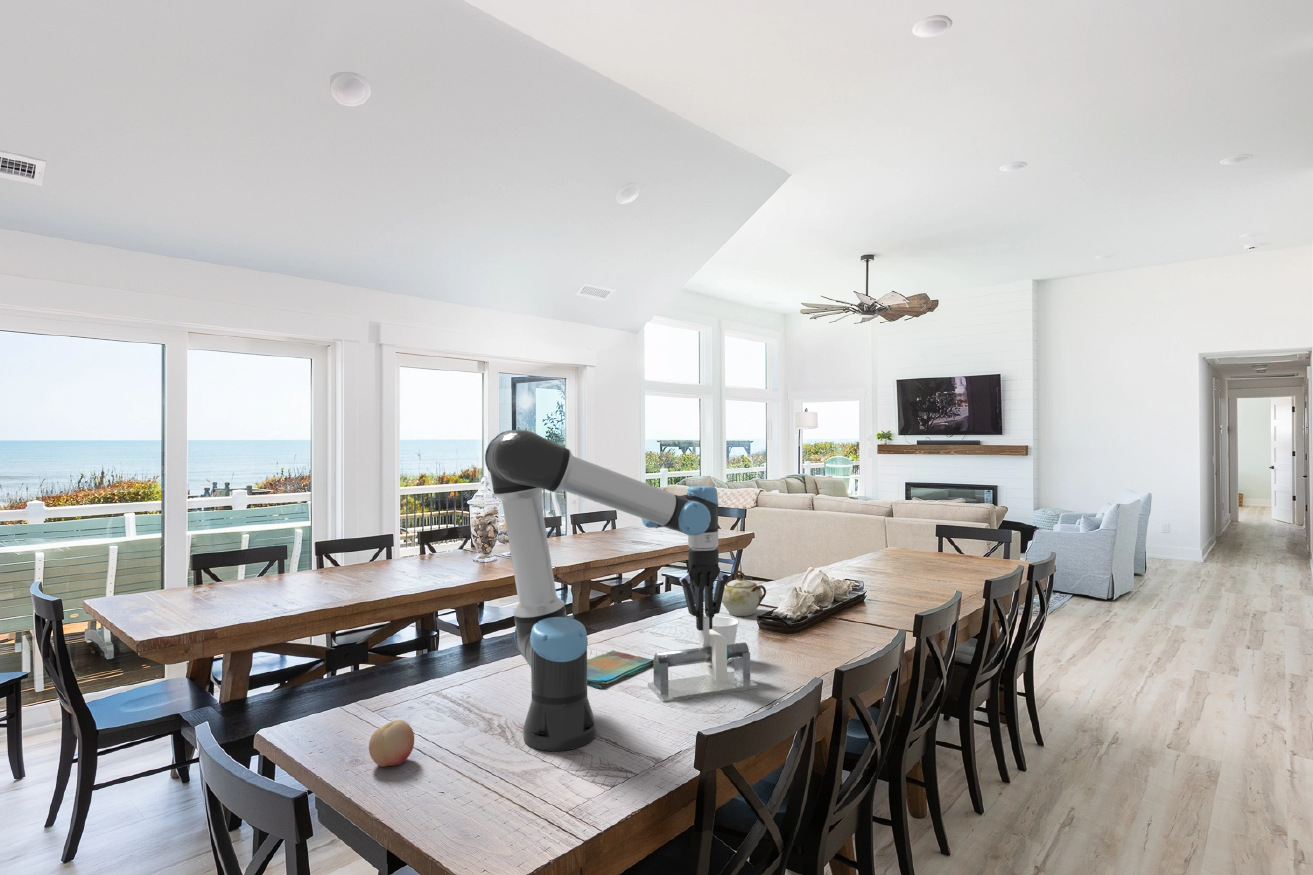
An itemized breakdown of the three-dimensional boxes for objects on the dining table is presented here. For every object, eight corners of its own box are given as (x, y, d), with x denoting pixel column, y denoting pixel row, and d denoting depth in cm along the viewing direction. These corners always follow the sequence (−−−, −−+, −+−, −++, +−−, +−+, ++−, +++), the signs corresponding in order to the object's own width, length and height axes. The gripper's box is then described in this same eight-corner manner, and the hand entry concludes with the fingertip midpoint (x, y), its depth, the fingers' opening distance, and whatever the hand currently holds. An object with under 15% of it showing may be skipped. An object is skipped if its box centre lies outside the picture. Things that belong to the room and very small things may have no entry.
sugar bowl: (705, 613, 246) (705, 571, 245) (728, 605, 257) (727, 564, 257) (755, 622, 234) (755, 577, 234) (776, 613, 246) (776, 570, 245)
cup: (737, 667, 189) (737, 626, 189) (701, 665, 191) (700, 625, 191) (740, 655, 199) (740, 617, 198) (705, 654, 201) (705, 615, 200)
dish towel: (552, 678, 184) (552, 668, 184) (610, 655, 202) (610, 646, 202) (601, 692, 173) (601, 681, 173) (658, 666, 192) (658, 657, 192)
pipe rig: (662, 701, 165) (662, 659, 165) (647, 686, 175) (647, 646, 175) (757, 688, 173) (757, 647, 173) (738, 673, 184) (737, 635, 184)
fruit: (382, 753, 140) (382, 713, 139) (421, 755, 139) (420, 714, 139) (361, 773, 132) (361, 730, 132) (402, 774, 131) (401, 732, 131)
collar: (715, 680, 170) (715, 639, 170) (699, 668, 179) (699, 629, 179) (727, 679, 171) (726, 638, 171) (710, 666, 180) (710, 628, 180)
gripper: (684, 552, 169) (686, 649, 169) (733, 548, 173) (734, 643, 173) (673, 547, 176) (674, 641, 176) (720, 544, 180) (722, 635, 180)
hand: (704, 642), depth 175 cm, fingers closed
